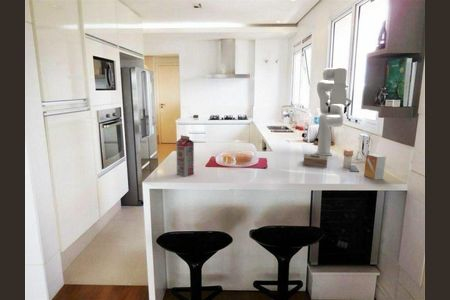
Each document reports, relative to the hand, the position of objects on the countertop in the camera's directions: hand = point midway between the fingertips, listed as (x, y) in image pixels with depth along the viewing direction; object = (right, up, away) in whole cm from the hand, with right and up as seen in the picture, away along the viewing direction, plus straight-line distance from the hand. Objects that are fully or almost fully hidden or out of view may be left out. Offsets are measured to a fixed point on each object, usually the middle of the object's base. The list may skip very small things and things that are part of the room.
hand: (336, 113), depth 192 cm
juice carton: (-97, -39, -30) cm, 109 cm away
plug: (+3, -36, -8) cm, 37 cm away
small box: (+10, -41, -27) cm, 50 cm away
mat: (+3, -37, -8) cm, 38 cm away
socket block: (-16, -35, -3) cm, 39 cm away
